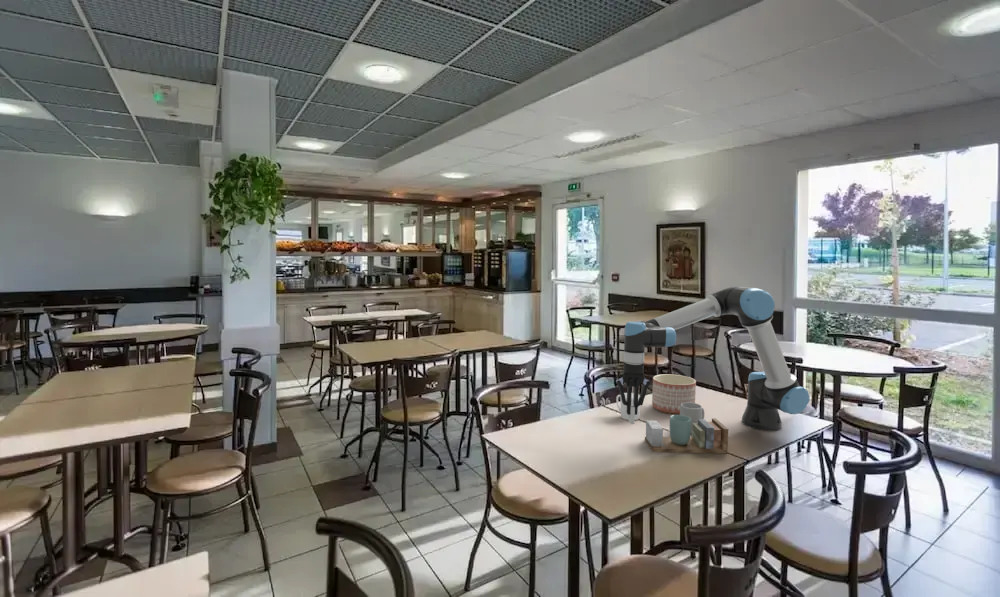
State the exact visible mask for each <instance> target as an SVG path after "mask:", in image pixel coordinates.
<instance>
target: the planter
mask: <svg viewBox="0 0 1000 597" xmlns="http://www.w3.org/2000/svg"><path fill="white" fill-rule="evenodd" d="M696 388H697V380H696V379H695V378H692V377H690V376H686V375H680V374H670V373H667V374H666V373H665V374H664V373H663V374H656V375H654V376H653V377H652V398H651V399H652V400H651V403H652V404H651V405H652V407H653V408H654V409H655V410H657V411H658V412H660V413H663V414H666V415H671V416H672V415H680V405H681V404H682V403H696V395H697V394H696V392H697V391H696V390H697V389H696Z"/></svg>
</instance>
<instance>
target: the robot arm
mask: <svg viewBox="0 0 1000 597" xmlns="http://www.w3.org/2000/svg"><path fill="white" fill-rule="evenodd" d="M775 307H776V306H775V300H774V297H773V296H772V295H771V294H770V293H769V292H768V291H767V290H764V289H760V288H757V287H745V286H730V287H727V288H724V289H721V290H719V291H718V290H717V291H716V292H713V293H711V294H708V295H706V297H705V298H704V299H702V300H699V301H697V302H695V303H694V302H693V303H691V304H688V305H686V306H683V307H681V308H678V309H675V310H673V311H671V312H667V313H665V314H662V315H660V316H657V317H654V318H652V319H649V320H639V321H628V322H626V323H625V324H624V333H623V334H624V341H623V342H624V344H623V345H624V346H623V347H624V349H623V371H622V375H621V377H620V378H619V379H618V378H617V379H615V382H616V384H617V386H618V389H619V395H621V400H622V403H623V404H624V405H626V406H627V414H628V415H629V421H628V422H629V424H630V425H634V424H635V421H634V418H635V415H637V408H638V406H640V407H641V406H643V405H644V401H645V398H646V394H647V391H648V388H649V387H650V385H651V381H650V380H649V379H646V377H645V374H644V371H645V364H644V363H645V351H646V348H662V347H663V348H669V347H673V346H675V344H676V341H677V332H676V331H677V330H679V329H681V328H684V327H686V326H689V325H692V324H695V323H698V322H700V321H703V320H706V319H708V318H710V317H715V318H718V317H721V316H724V315H725V316H726V315H734V316H737V318H738V320H739V323H740V325H741V326H742V327H743V328H746V329H747V332H748V334H749V336H750V339H751V341H752V344H753V346H754V349H755V351H756V352H755V353H756V354H757V357H758V359H759V362H760V364H761V367H762V370H763V371H752V372H749V375H748V380H747V403H746V406H745V409H744V411H743V414H742V417H741V423H742V424H743V425H745V426H746V427H749V428H752V429H755V430H762V431H778V430H781V429H782V420H781V416H780V413H779V411H781V412H783V413H786V414H789V415H798V414H800V413H802V412H804V410H806V408H807V407H808V404H809V403H810V392H809V391H808V390H807V389H806V388H805V387H803V386H800V383H799V381H798V378H797V376H796V375H795V374H794V373H791V372H790V369H789V367H788V365H787V362H786V359H785V357H784V356H785V355H784V354H783V351H782V348H781V345H780V343H779V340H778V337H777V336H776V332H775V330H774V327H773V324H772V322H771V321H772V320H773V318H774V315H773V314H774V309H775ZM624 383H625V385H626V393H627V401H626V399H625V394H624V393H625V391H624V390H625V389H624V386H623V384H624ZM641 384H642V387H641V391H640V394H639V389H640V386H641ZM632 389H633V390H632ZM632 391H633V392H632ZM632 393H634V398H633V404H634V405H631V395H632ZM638 395H640V397H639V400H638Z"/></svg>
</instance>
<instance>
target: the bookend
mask: <svg viewBox="0 0 1000 597" xmlns="http://www.w3.org/2000/svg"><path fill="white" fill-rule="evenodd" d="M645 422H646V423H645V437H646V439H647V440H648V442H649V443H650V445H651V446H652V447H663V437H664V428H663V427H662V425H661V424H660V423H659V422H658V421H657V420H650V419H649V420H646V421H645Z"/></svg>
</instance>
